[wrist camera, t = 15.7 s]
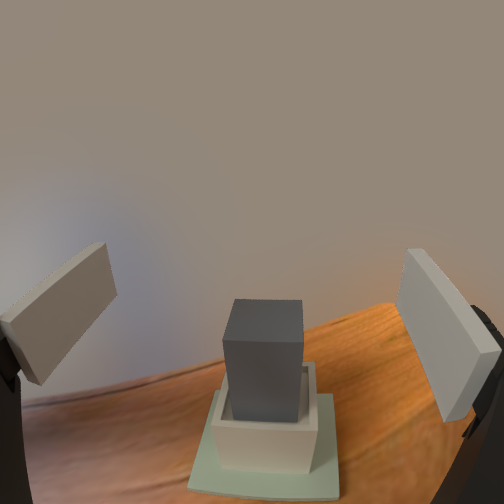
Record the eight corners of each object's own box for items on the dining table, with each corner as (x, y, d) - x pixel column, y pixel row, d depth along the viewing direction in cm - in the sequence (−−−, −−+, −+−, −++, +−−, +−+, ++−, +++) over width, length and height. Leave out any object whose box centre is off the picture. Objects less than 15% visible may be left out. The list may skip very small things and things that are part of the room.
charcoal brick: (233, 419, 27) (222, 340, 23) (241, 377, 32) (234, 299, 28) (297, 422, 26) (303, 342, 22) (297, 379, 31) (302, 300, 28)
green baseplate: (188, 490, 26) (186, 487, 26) (216, 393, 41) (215, 389, 41) (337, 500, 24) (339, 497, 24) (332, 397, 39) (332, 393, 38)
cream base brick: (221, 468, 28) (210, 425, 25) (235, 408, 37) (228, 358, 34) (308, 473, 27) (317, 430, 24) (309, 411, 36) (315, 361, 33)
